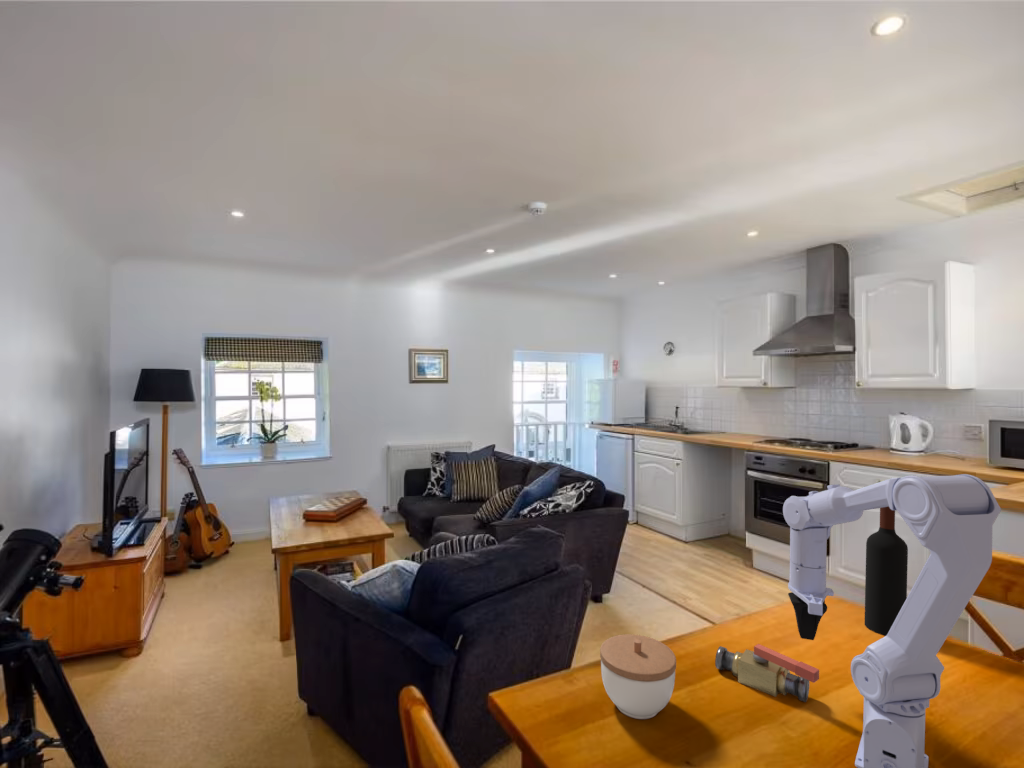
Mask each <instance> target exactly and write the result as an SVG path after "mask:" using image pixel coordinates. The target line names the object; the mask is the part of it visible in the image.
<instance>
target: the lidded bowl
mask: <svg viewBox="0 0 1024 768" xmlns="http://www.w3.org/2000/svg"><path fill="white" fill-rule="evenodd" d="M599 648H600V649H599V652H600V653H599V657H600V671H601V679H602V683H603V686H604V689H605V693H606V694H607V696H608V698H610V700H611V701H612V702H613V704H614V705H615V706H616V708H617V709H618V711H620V712H621V713H622V714H623V715H625V716H627V717H629V718H632V719H635V720H648V719H651V718H654V717H656V716H657V714H658V713H659V712H660V711H662V710H663V709H664V708H666V706H667V705H668V703H669V702H670V700H671V698H672V695H673V691H674V689H675V682H676V681H675V680H676V669H677V658H676V657H677V656H676V655H675V653H674V652H673V650H672V649H671V648H670V647H669V646H668V645H666V643H665V644H664V643H663V642H661V641H660V640H658V639H656V638H652V637H651V636H645V635H640V634H633V633H632V634H631V633H630V634H629V633H628V634H627V633H626V634H625V633H624V634H618V635H614V636H611V637H609V638H607V639H605V640H604V641H603V642H602V643H601V645H600V647H599Z"/></svg>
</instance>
